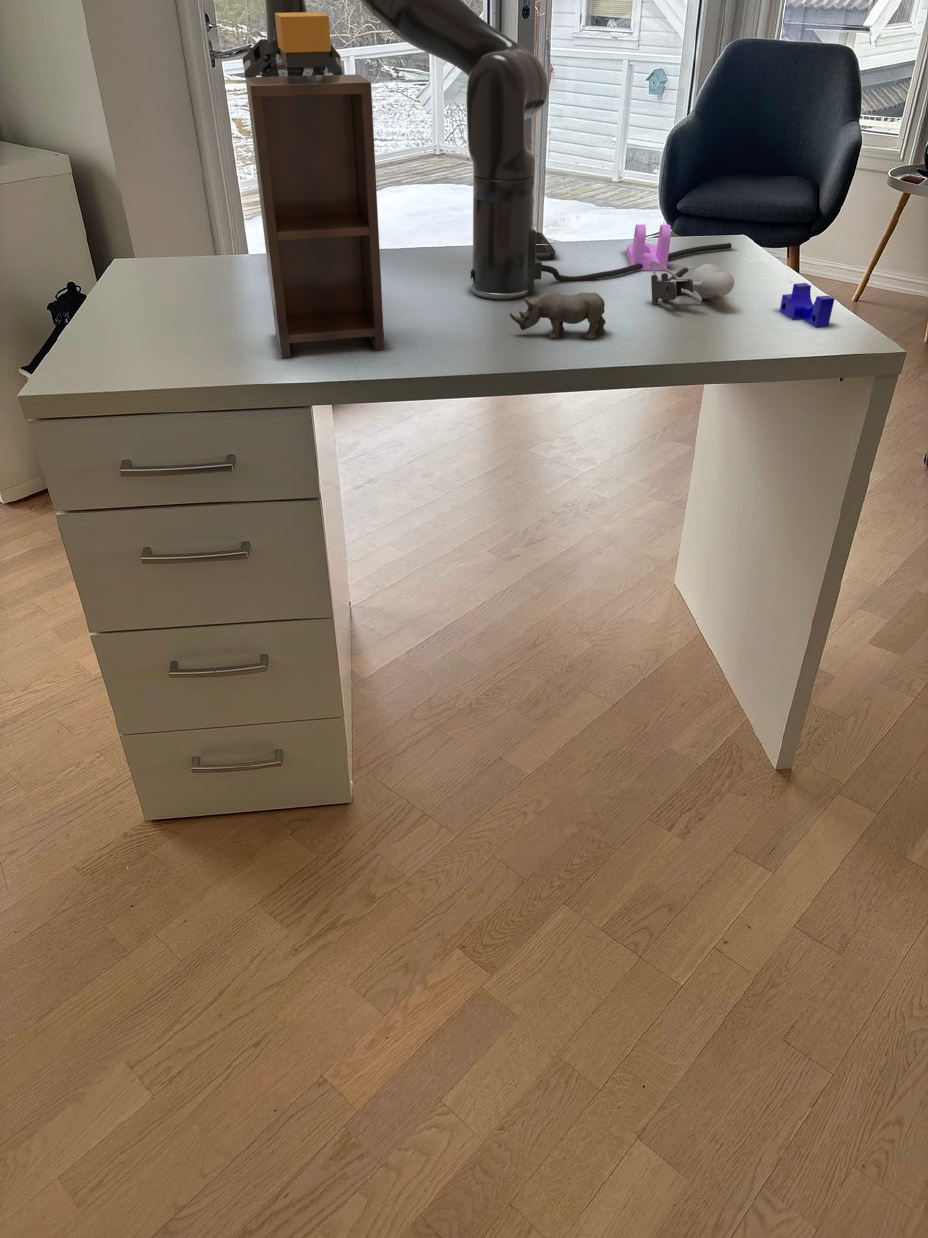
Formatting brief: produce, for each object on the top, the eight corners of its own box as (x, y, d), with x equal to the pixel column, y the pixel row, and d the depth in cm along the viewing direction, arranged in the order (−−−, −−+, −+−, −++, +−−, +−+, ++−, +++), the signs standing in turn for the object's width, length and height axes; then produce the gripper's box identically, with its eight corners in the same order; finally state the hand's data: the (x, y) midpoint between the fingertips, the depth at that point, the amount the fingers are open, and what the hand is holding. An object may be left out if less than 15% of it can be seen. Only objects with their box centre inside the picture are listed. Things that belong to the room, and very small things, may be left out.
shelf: (373, 328, 135) (359, 73, 116) (384, 349, 128) (371, 81, 109) (276, 336, 132) (245, 76, 113) (281, 358, 125) (250, 85, 106)
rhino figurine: (508, 329, 134) (509, 287, 131) (603, 330, 134) (607, 287, 131) (509, 339, 131) (510, 296, 128) (607, 339, 131) (611, 296, 127)
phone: (512, 253, 164) (501, 232, 176) (512, 260, 164) (500, 239, 177) (557, 252, 164) (542, 231, 177) (556, 259, 165) (541, 237, 177)
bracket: (666, 270, 160) (671, 227, 156) (633, 270, 160) (638, 227, 156) (655, 250, 170) (659, 209, 166) (624, 250, 170) (628, 209, 166)
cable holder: (779, 311, 142) (784, 284, 139) (800, 309, 142) (805, 282, 140) (806, 327, 135) (812, 300, 133) (828, 326, 136) (834, 298, 134)
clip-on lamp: (633, 301, 155) (666, 310, 138) (632, 261, 152) (664, 265, 136) (702, 292, 155) (743, 300, 139) (702, 251, 153) (743, 254, 136)
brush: (314, 53, 121) (310, 7, 119) (332, 66, 108) (328, 15, 105) (272, 54, 120) (268, 8, 117) (285, 67, 107) (280, 15, 104)
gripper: (237, 68, 130) (233, -2, 113) (336, 65, 133) (347, -4, 116) (245, 124, 131) (243, 62, 114) (343, 120, 134) (355, 59, 117)
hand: (295, 29), depth 115 cm, fingers closed on brush, 2 cm apart
